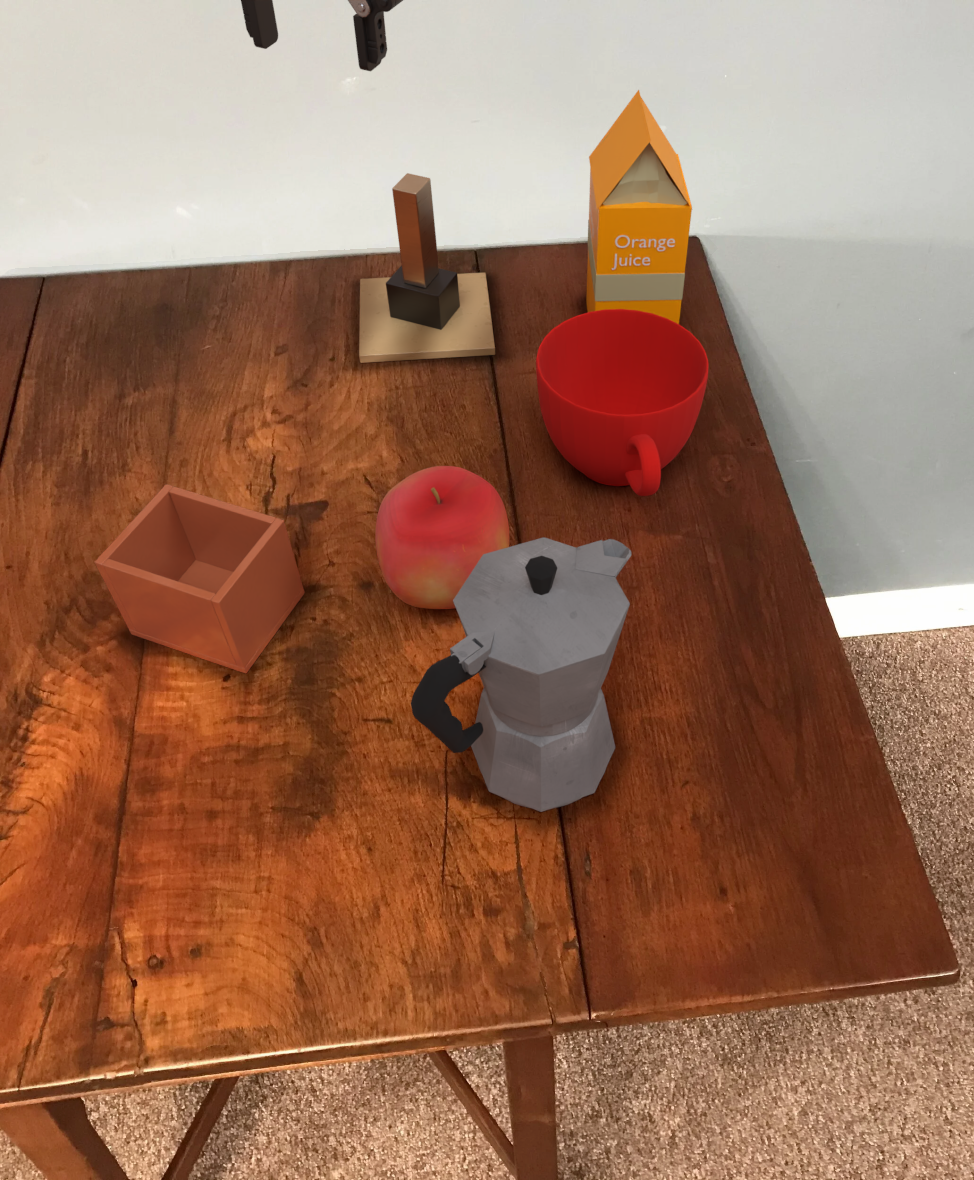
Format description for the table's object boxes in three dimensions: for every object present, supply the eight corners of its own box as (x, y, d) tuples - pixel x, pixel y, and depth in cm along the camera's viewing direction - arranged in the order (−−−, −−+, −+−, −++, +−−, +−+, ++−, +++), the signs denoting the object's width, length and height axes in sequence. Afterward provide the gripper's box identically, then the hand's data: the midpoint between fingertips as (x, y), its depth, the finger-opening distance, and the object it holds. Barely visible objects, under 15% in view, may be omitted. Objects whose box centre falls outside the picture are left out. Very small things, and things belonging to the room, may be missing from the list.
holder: (130, 634, 71) (93, 561, 65) (195, 557, 76) (166, 483, 70) (246, 674, 69) (218, 602, 63) (305, 592, 74) (284, 519, 68)
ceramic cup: (560, 562, 77) (561, 463, 69) (525, 415, 87) (523, 315, 79) (727, 540, 78) (746, 442, 71) (673, 399, 89) (684, 301, 81)
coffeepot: (565, 649, 71) (569, 458, 57) (665, 733, 67) (695, 548, 53) (388, 787, 64) (344, 605, 50) (489, 889, 60) (470, 722, 46)
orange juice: (665, 299, 99) (685, 88, 83) (676, 356, 93) (701, 140, 78) (584, 301, 98) (590, 88, 83) (591, 358, 92) (598, 141, 77)
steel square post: (390, 317, 94) (371, 188, 85) (409, 293, 97) (394, 165, 87) (441, 330, 93) (429, 200, 84) (460, 306, 96) (450, 178, 86)
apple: (535, 563, 76) (534, 464, 69) (479, 658, 71) (470, 562, 63) (420, 526, 78) (406, 426, 71) (357, 615, 73) (334, 516, 65)
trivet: (360, 363, 91) (359, 355, 90) (361, 285, 99) (360, 278, 98) (495, 355, 92) (495, 347, 92) (485, 279, 100) (485, 272, 99)
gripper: (411, -220, 63) (430, 55, 75) (210, -252, 66) (260, 18, 78) (352, -192, 58) (382, 96, 71) (138, -227, 61) (203, 56, 74)
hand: (318, 55), depth 74 cm, fingers open, 8 cm apart
